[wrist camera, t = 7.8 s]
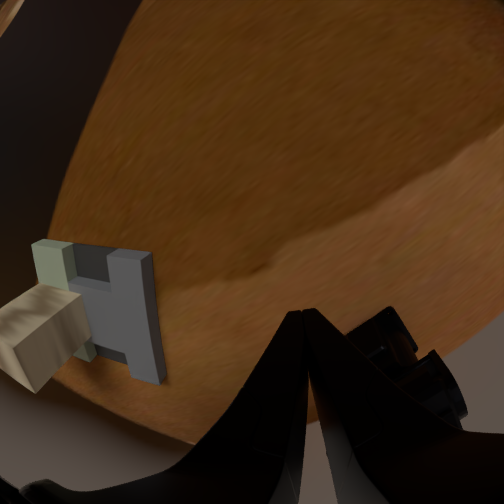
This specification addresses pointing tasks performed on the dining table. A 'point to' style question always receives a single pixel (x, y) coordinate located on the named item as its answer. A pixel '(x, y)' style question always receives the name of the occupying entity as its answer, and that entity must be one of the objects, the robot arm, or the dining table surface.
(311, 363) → the robot arm
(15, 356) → the maple block
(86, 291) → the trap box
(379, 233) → the dining table surface
